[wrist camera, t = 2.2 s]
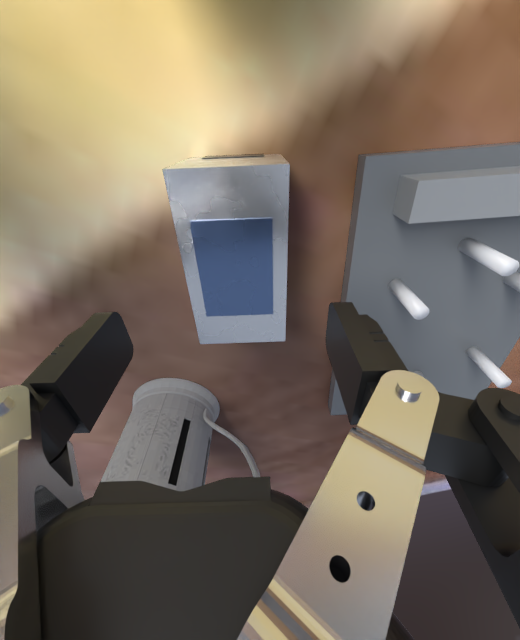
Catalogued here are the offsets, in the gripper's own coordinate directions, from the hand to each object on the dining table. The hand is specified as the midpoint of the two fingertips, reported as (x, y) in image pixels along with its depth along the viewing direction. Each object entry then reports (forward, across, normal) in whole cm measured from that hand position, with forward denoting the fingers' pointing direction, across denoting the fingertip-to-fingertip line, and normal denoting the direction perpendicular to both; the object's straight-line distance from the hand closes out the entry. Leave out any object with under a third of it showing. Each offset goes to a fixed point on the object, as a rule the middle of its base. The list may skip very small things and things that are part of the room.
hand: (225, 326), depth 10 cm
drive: (+9, 0, -1) cm, 9 cm away
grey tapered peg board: (+9, -14, +6) cm, 18 cm away
